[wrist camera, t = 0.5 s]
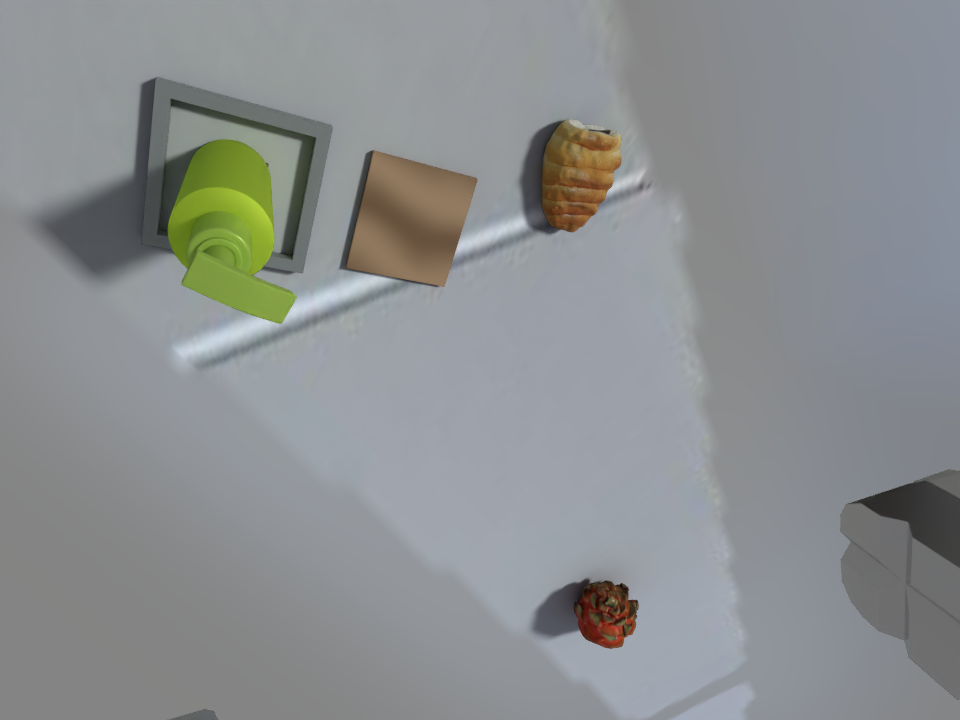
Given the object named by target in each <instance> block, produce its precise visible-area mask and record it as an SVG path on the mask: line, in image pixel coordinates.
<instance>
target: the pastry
mask: <svg viewBox="0 0 960 720" xmlns="http://www.w3.org/2000/svg"><path fill="white" fill-rule="evenodd" d="M621 140H622V137H621V134H620V133H618V132H617V131H614V130H605V129H604V128H603V127H601V126H597V125H583V124H582V123H581V122H579V121H578V120H572V119H568V120H565V121H563V122H562V123H561V124H560V125H559V126H558V127H557V129H556V130H555V132H554V133H553V135H552V137H551V138H550V139H549V141H548V143H547V145H546V149H545V153H544V156H543V168H542V208H543V211H544V213H545V216H546V219H547V220H548V222H549V224H550V225H551V226H554V227H555V228H558V229H562V230H566V231H568V232H575V231H576V230H577V229H578V228H580V227H582V226H584V224H585V223H586V222H587V221H588V219H589V218H590V217H591V216H593V215H594V214H595V213H596V212H597V209H598V205H599V204H600V203H601V202H602V201H604V200H605V198H606V193H607V191H608V189H610V188H611V187H612V184H613V182H614V175H613V174H614V171H615V170H616V169H617V168H619V166H620V165H621V155H620V145H621Z"/></svg>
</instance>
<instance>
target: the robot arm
mask: <svg viewBox="0 0 960 720" xmlns="http://www.w3.org/2000/svg"><path fill="white" fill-rule="evenodd" d="M840 527H841V528H840V531H841V532H842V533H843V534H844V535H845V536H846V537H847V538H848V539H849V540H850V541H851V543H850V544H849V546H848V548H847V550H846V551H845V553H844V555H843V557H842V559H841V572H842V582H843V584H844V586H845V588H846V591H847V593H848V595H849V598H850V600H851V602H852V603H853V604H854V606H855V607H856V609H857V610H858V611H859V612H860V614H861V615H862V616H863V617H864V618H865V619H866V620H867V621H868V622H869V623H870V624H871V625H872V626H874V627H875V628H876V629H877V630H878V631H880V632H882V633H885V634H888V635H891V636H894V637H897V638H899V639H902V640H904V641H905V645H906V649H907V653H908V657H909V658H910V659H911V660H912V661H913V662H914V663H915V664H917V665H918V666H919V667H920V668H921V669H922V670H923V671H925V672H926V673H927V674H928V675H929V676H930V677H931V678H933V679H934V680H935V681H936V682H937V683H938V684H939V685H941V686H942V687H943V688H944V689H945V690H947V691H948V692H949V693H950V694H951V695H952V696H953V697H954V698H956V699H957V700H959V699H960V471H957V470H950V469H948V470H945V471H942V472H939V473H937V474H933V475H930V476H928V477H925V478H922V479H919V480H916V481H914V482H913V483H909V484H906V485H903V486H900V487H897V488H894V489H891V490H888V491H885V492H881V493H878V494H875V495H873V496H869V497H866V498H863V499H860V500H857V501H854V502H851V503H848V504H846V505H845V507H844V509H843V511H842V513H841V526H840ZM169 720H218V718H217V716H216V714H215V712H214V711H212V710H207V709H203V710H200V711H196V712H193V713H189V714H186V715H183V716H179V717H176V718H172V719H169Z"/></svg>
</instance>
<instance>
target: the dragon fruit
mask: <svg viewBox="0 0 960 720" xmlns="http://www.w3.org/2000/svg"><path fill="white" fill-rule="evenodd" d="M628 591H629V589H628V587H627V586H626V585H625V584H622V583H621V584H620V585H614V584H613V583H612V582H611V581H604V582H602V583H595V584H588V585H586V586H585V587H584V589H583V594H582V596H583V597H582V598H579V600H578V602H577V604H576V602H575V604H574V612H575V614H576V615H577V617H578V625H579V629H580V631H581V633H582V635H583V637H584V638H585V639H586V640H588V641H591V642H593V643H595V644H598V645H600V646H603V647H605V648H610V649H612V648H619V647H622V646H623V643H624V638H625V637H627V636H628V635H632V634H633V632H634V630H635V628H636V622H635V619H636V618H637V615H636V612H637V611H636V610H638V608H639V604H638V600H628Z"/></svg>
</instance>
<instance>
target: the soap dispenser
mask: <svg viewBox="0 0 960 720" xmlns="http://www.w3.org/2000/svg"><path fill="white" fill-rule="evenodd" d="M168 238H169V242H170V245H171V248H172V250H173V252H174V254H175V255H176V257H177V258H178V259H179V261H180V262H181V263H182V264H183V265H184V266H185V267H186V268H188V270H187V272H186V274H185V276H184V278H183V280H182V283H181V285H183V286H185V287H187V288H189V289H192V290H194V291H196V292H198V293H200V294H203V295H205V296H207V297H209V298H211V299H214V300H216V301H218V302H220V303H223V304H225V305H227V306H230V307H232V308H235V309H237V310H240V311H242V312H245V313H247V314H250V315H253V316H256V317H259V318H262V319H266V320H269V321H272V322H276V323H280V324H281V323H282V322H283V320H284V319H285V317H286V315H287V314H288V312H289V310H290V308H291V307H292V305H293V303H294V301H295V299H296V295H295V294H293V293H292V292H291V291H290V290H287V289H285V288H282V287H279V286H276V285H274V284H271V283H269V282H266V281H264V280H262V279H259V278H257V277H255V276H253V275H254V274H255V273H257V272H258V271H259V270H261V269H262V268H263V267H264V265H265V264H266V263H267V261H268V260H269V258H270V256H271V254H272V251H273V247H274V224H273V207H272V191H271V177H270V173H269V170H268V167H267V165H266V163H265V162H264V160H263V159H262V157H261V156H260V155H259V154H258V153H257V152H256V151H255V150H253V149H252V148H251V147H249V146H247V145H246V144H243V143H241V142H238V141H234V140H216V141H212V142H209V143H207V144H205V145H204V146H202V147H201V148H200V149H199V150H198V151H197V152H196V153H195V154H194V156H193V157H192V159H191V161H190V164H189V167H188V169H187V172H186V175H185V177H184V180H183V183H182V186H181V188H180V191H179V194H178V196H177V199H176V202H175V204H174V207H173V210H172V213H171V215H170V218H169V223H168Z"/></svg>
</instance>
